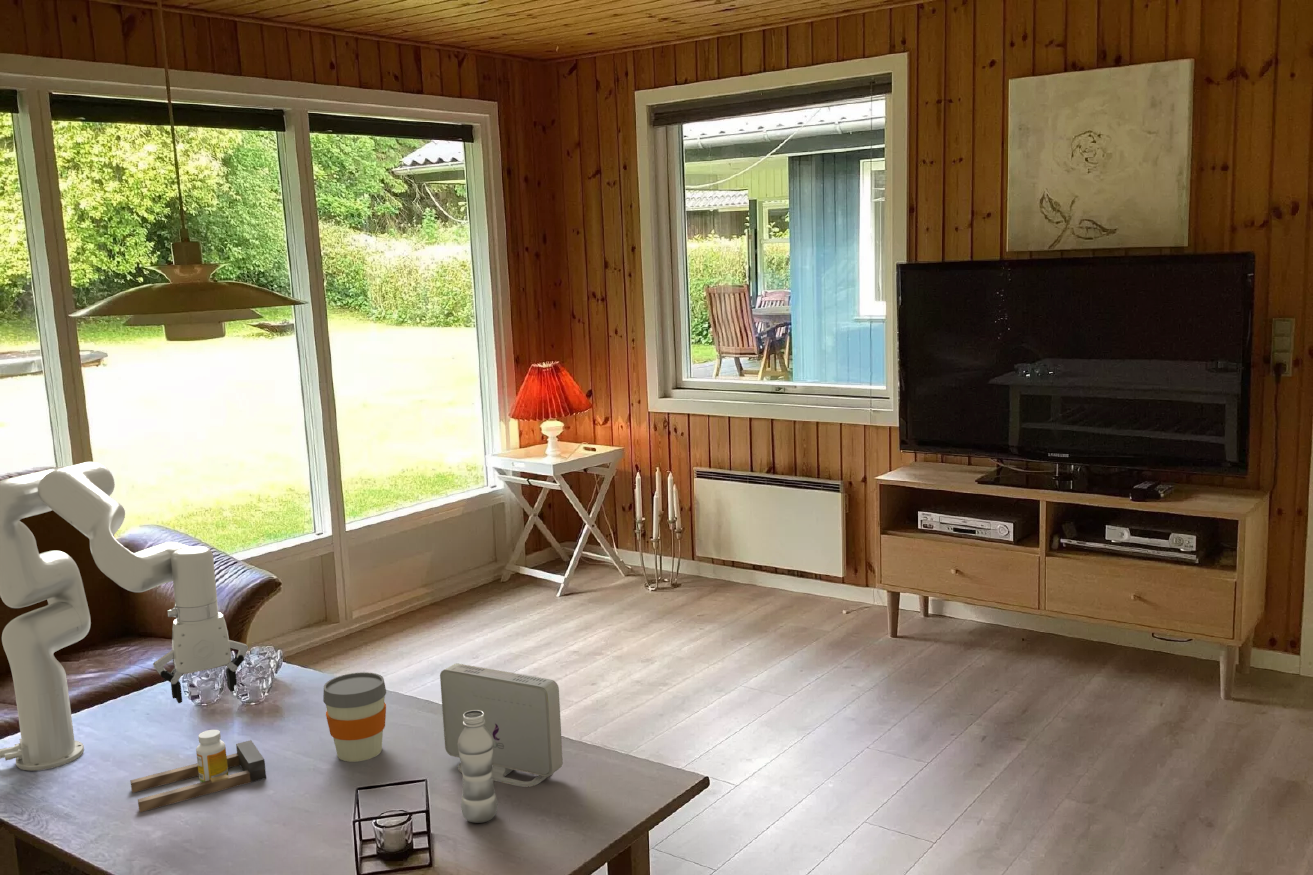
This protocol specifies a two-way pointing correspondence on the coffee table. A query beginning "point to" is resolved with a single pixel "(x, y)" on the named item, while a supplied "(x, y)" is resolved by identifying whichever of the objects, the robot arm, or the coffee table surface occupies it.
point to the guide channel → (244, 757)
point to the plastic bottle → (477, 769)
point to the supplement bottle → (211, 755)
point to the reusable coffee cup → (356, 714)
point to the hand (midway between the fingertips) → (205, 695)
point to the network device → (506, 718)
